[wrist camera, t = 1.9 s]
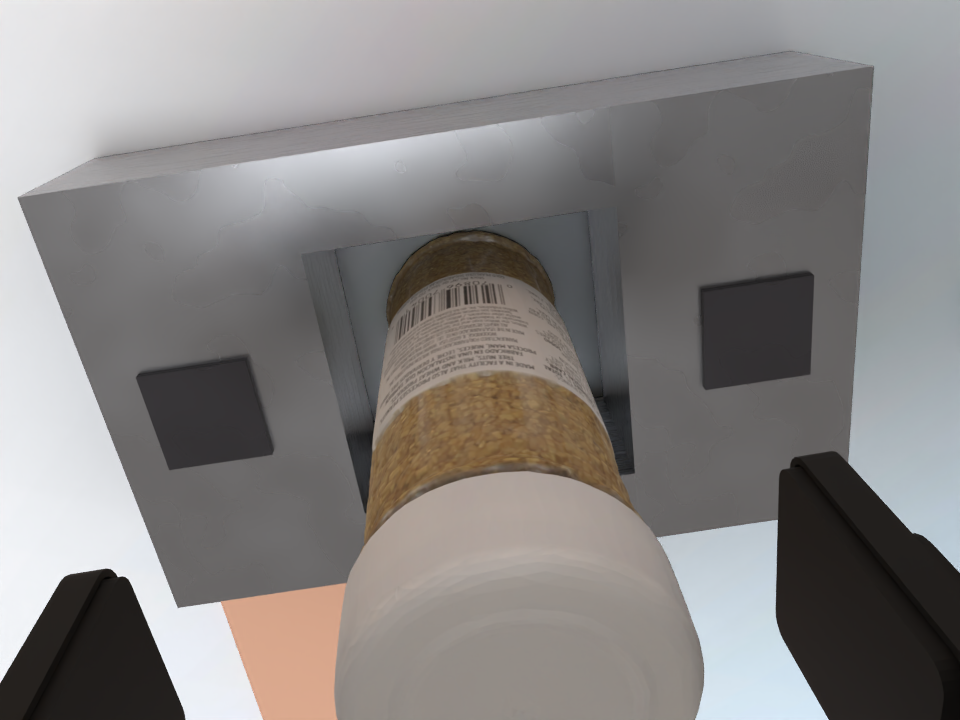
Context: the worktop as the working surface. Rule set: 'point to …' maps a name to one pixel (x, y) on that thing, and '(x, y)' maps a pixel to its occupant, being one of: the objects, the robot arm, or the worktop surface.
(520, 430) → the sprinkles bottle
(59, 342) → the worktop surface
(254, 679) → the coaster
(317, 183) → the socket bar
